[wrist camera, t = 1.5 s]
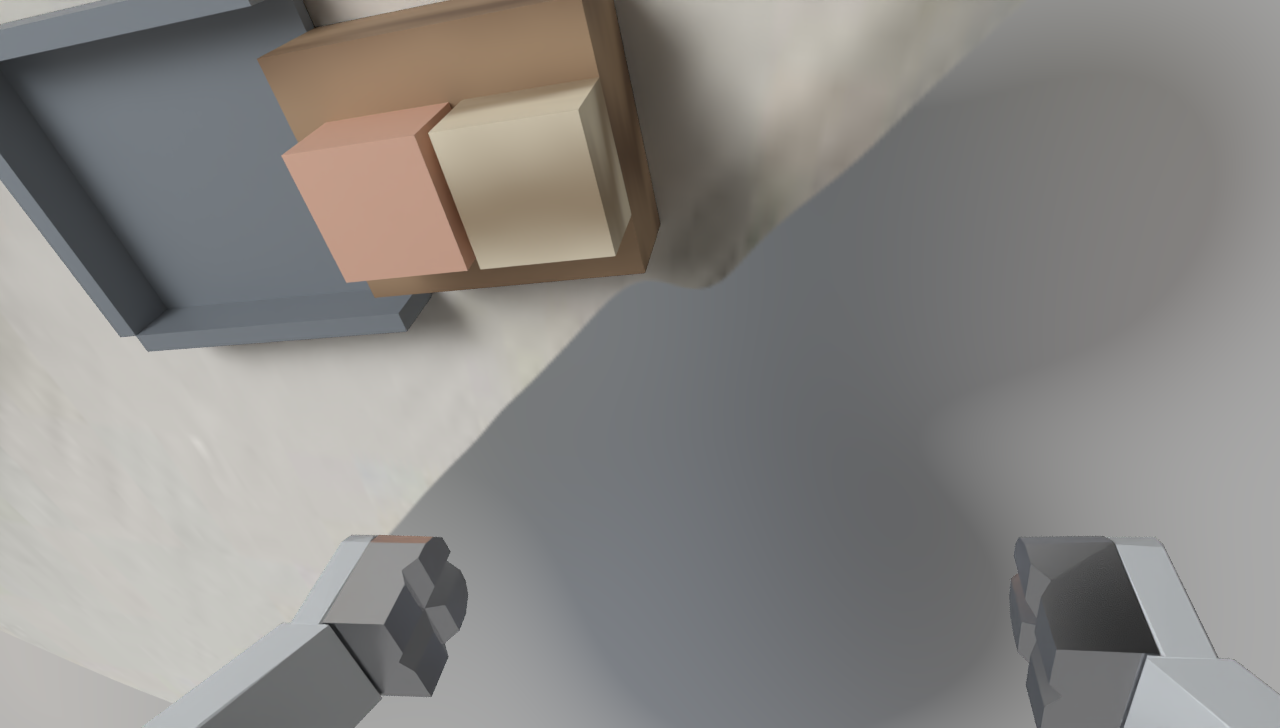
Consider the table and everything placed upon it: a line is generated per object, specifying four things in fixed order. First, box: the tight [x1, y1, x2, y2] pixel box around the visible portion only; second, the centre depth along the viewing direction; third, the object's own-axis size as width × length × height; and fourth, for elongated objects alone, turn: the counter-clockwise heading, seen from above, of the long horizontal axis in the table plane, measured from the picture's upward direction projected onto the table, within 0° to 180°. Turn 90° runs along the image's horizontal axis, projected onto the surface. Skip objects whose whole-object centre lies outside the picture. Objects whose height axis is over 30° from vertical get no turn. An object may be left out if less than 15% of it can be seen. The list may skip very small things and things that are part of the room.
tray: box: [0, 0, 432, 352], centre depth 33 cm, size 15×16×3 cm
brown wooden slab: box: [257, 0, 660, 298], centre depth 29 cm, size 10×12×4 cm
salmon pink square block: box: [281, 102, 476, 283], centre depth 27 cm, size 5×5×3 cm
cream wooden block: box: [428, 77, 631, 269], centre depth 25 cm, size 5×5×3 cm
